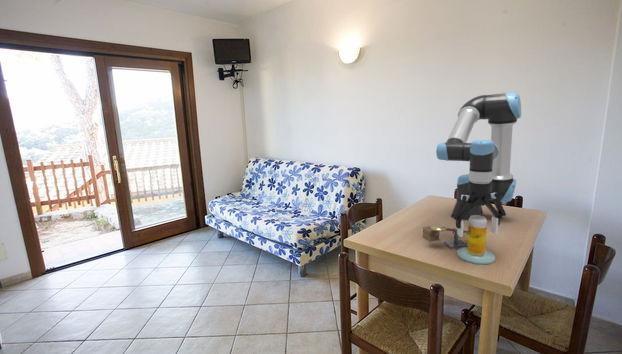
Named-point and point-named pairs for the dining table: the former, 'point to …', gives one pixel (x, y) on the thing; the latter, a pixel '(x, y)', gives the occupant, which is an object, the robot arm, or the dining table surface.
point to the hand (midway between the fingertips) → (477, 234)
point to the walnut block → (430, 234)
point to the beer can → (477, 235)
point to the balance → (456, 243)
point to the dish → (476, 257)
